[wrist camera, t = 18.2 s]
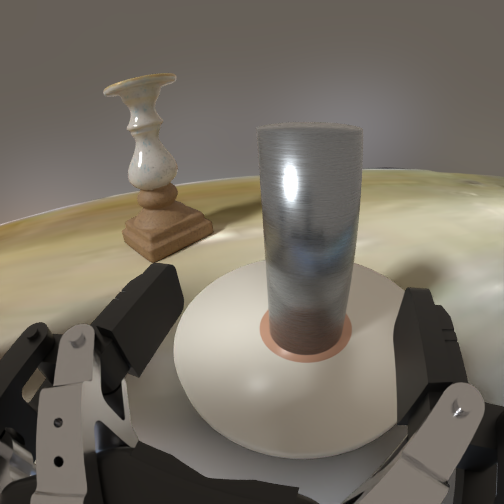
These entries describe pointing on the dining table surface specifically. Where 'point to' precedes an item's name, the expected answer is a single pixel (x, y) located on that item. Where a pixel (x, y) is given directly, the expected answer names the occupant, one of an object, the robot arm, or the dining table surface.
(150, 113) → the candle holder
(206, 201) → the dining table surface
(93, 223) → the dining table surface
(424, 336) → the robot arm
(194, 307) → the disc
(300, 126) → the cup
